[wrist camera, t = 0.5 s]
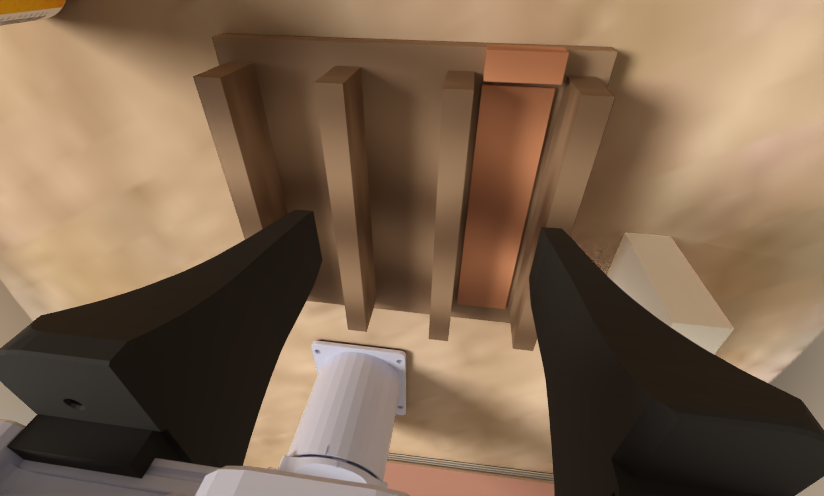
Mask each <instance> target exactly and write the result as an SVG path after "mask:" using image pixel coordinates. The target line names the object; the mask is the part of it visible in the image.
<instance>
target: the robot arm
mask: <svg viewBox="0 0 824 496" xmlns="http://www.w3.org/2000/svg"><path fill="white" fill-rule="evenodd" d="M321 263H322V254H321V249H320V244H319V238H318V233H317V228H316V222H315V217H314V212H313V211H309V210H294V211H292V212H290V213H288V214H286V215H285V216H283V217H281V218H280V219H278V220H276V221H275V222H273V223H271V224H270V225H268V226H267V227H265V228H263V229H262V230H260V231H259V232H257V233H255V234H254V235H252V236H251V237H249V238H247V239H246V240H244V241H242V242H240V243H239V244H237V245H235V246H233V247H231V248H230V249H228V250H226V251H224V252H223V253H221V254H219V255H217V256H215V257H213V258H211V259H209V260H207V261H205V262H203V263H201V264H199V265H197V266H195V267H192V268H190V269H188V270H186V271H184V272H181V273H179V274H176V275H174V276H171V277H169V278H166V279H164V280H161V281H158V282H156V283H153V284H151V285H148V286H145V287H142V288H140V289H136V290H133V291H130V292H127V293H124V294H121V295H118V296H115V297H111V298H108V299H105V300H101V301H98V302H94V303H90V304H86V305H82V306H78V307H74V308H70V309H66V310H62V311H58V312H54V313H50V314H45V315H41V316H40V317H38V318H37V319H36V320H34V321H33V322H32V323H31V324H30V325H29V326H27V327H26V328H25V329H24V330H22V331H21V332H20V333H19V334H18V335H16V336H15V337H14V338H13V339H12V340H10V341H9V342H8V343H7V344H5V345H4V346H3V347H2V348H0V381H1V382H2V383H3V384H4V385H5V386H6V387H7V388H8V389H10V390H11V391H12V392H13V393H14V394H15V395H16V396H17V397H18V398H19V399H21V400H22V401H23V402H24V403H25V404H26V405H27V406H28V407H30V408H31V409H32V410H33V411H34V412H35V413H36V414H38V415H37V416H36V417H35V418H34V419H33V420H32V421H31V422H30V423H29V424H28V425H27V426H24V425H22V424H19V423H17V422H14V421H10V420H4V419H0V496H411V495H409V494H407V493H405V492H401V491H397V490H393V489H390V488H388V483H387V482H384V475H385V470H386V464H387V459H388V453H389V448H390V442H391V437H392V431H393V426H394V420H395V415H405V414H406V353H405V352H403V351H400V350H392V349H384V348H375V347H367V346H358V345H350V344H342V343H333V342H325V341H313V343H312V345H311V348H312V352H313V356H314V360H315V364H316V369H317V373H318V376H317V379H316V381H315V384H314V387H313V389H312V392H311V394H310V397H309V400H308V402H307V405H306V407H305V410H304V413H303V415H302V418H301V421H300V423H299V426H298V428H297V431H296V434H295V436H294V439H293V441H292V444H291V447H290V449H289V452H288V454H287V455H284V456H283V457H282V460H281V462H280V465H279V467H278V470H277V469H275V468H271V467H269V468H267V469H265V468H259V467H252V466H243V463H244V459H245V456H246V452H247V449H248V445H249V442H250V438H251V435H252V432H253V429H254V426H255V423H256V419H257V416H258V413H259V410H260V407H261V404H262V401H263V398H264V396H265V393H266V390H267V387H268V384H269V381H270V378H271V376H272V373H273V371H274V368H275V365H276V363H277V360H278V358H279V355H280V352H281V350H282V348H283V346H284V344H285V341H286V339H287V337H288V335H289V333H290V331H291V330H292V328H293V326H294V324H295V322H296V320H297V318H298V316H299V314H300V312H301V310H302V308H303V306H304V304H305V302H306V300H307V299H308V297H309V295H310V293H311V291H312V289H313V286H314V284H315V281H316V279H317V276H318V273H319V270H320V267H321ZM529 288H530V302H531V309H532V314H533V319H534V324H535V329H536V334H537V338H538V343H539V348H540V353H541V357H542V362H543V367H544V373H545V379H546V387H547V397H548V407H549V418H550V431H551V443H552V459H553V475H554V494H555V496H795V495H797V494H798V493H799V492H801V491H803V490H804V489H805V488H807V487H808V486H810V485H811V484H813V483H815V482H816V481H817V480H819V479H820V478H822V477H823V476H824V430H823V428H822V427H821V426H820V424H819V423H818V422H817V420H816V419H815V418H814V416H813V415H812V414H811V412H810V411H809V410H808V408H807V407H806V405H805V404H804V403H803V402H802V400H800V399H798V398H796V397H794V396H792V395H790V394H788V393H786V392H784V391H782V390H780V389H778V388H776V387H774V386H772V385H770V384H768V383H766V382H764V381H762V380H760V379H758V378H756V377H754V376H752V375H750V374H748V373H746V372H744V371H742V370H741V369H739V368H737V367H735V366H733V365H732V364H730V363H728V362H726V361H725V360H723V359H721V358H719V357H717V356H716V355H714V354H712V353H710V352H709V351H707V350H705V349H704V348H702V347H701V346H699V345H697V344H696V343H694V342H692V341H691V340H689V339H688V338H686V337H685V336H683V335H682V334H680V333H679V332H677V331H676V330H674V329H673V328H671V327H670V326H668V325H667V324H665V323H664V322H662V321H661V320H660V319H658V318H657V317H655V316H654V315H653V314H652V313H650V312H649V311H648V310H646V309H645V308H644V307H642V306H641V305H640V304H639V303H637V302H636V301H635V300H634V299H632V298H631V297H630V296H629V295H628V294H626V293H625V292H624V291H623V290H622V289H621V288H620V287H619V286H618V285H616V284H615V283H614V282H613V281H612V280H611V279H610V278H609V277H608V276H607V275H606V274H605V273H604V272H603V271H602V270H601V269H600V268H599V267H598V266H597V265H596V264H595V263H594V262H593V261H592V260H591V259H590V258H589V257H588V256H587V255H586V254H585V253H584V252H583V251H582V250H581V248H580V247H579V246H578V245H577V244H576V243H575V242H574V241H573V240H572V239H571V237H570V236H569V235H568V234H567V233H566V232H565V231H564V230H563V229H562V228H548V227H541V230H540V234H539V238H538V243H537V247H536V251H535V255H534V259H533V263H532V267H531V271H530V275H529Z"/></svg>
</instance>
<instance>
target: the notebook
mask: <svg viewBox="0 0 824 496" xmlns="http://www.w3.org/2000/svg"><path fill="white" fill-rule="evenodd" d="M384 482H387V483H388V488H390V489H393V490H397V491H401V492H405V493H407V494H409V495H411V496H555V494H554V475H553V474H547V473H539V472H531V471H523V470H516V469H508V468H500V467H492V466H484V465H476V464H468V463H461V462H453V461H445V460H437V459H429V458H421V457H414V456H406V455H398V454H390V453H388V459H387V464H386V470H385V475H384Z"/></svg>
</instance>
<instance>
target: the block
mask: <svg viewBox="0 0 824 496" xmlns="http://www.w3.org/2000/svg"><path fill="white" fill-rule="evenodd" d="M607 276H608V277H609V278H610V279H611V280H612V281H613V282H614V283H615V284H616V285H618V286H619V287H620V288H621V289H622V290H623V291H624V292H625V293H626V294H628V295H629V296H630V297H631V298H632V299H634V300H635V301H636V302H637V303H639V304H640V305H641V306H642V307H644V308H645V309H646V310H648V311H649V312H650V313H652V314H653V315H654V316H655V317H657V318H658V319H660V320H661V321H662V322H664V323H665V324H667V325H668V326H670V327H671V328H673V329H674V330H676V331H677V332H679V333H680V334H682V335H683V336H685V337H686V338H688V339H689V340H691V341H692V342H694V343H696V344H697V345H699V346H701V347H702V348H704V349H705V350H707V351H709V352H710V353H712V354H715V353H716V352H717V350H718V349H719V348H720V347H721V345H722V344H723V343H724V342H725V340H726V339H727V338H728V337H729V335H730V334H731V333H732V331H733V330H734V328H733V326H732V325H731V323H730V322H729V320H728V319H727V317H726V316H725V314H724V313H723V312H722V310H721V309H720V307H719V306H718V304H717V303H716V301H715V300H714V299H713V297H712V296H711V294H710V293H709V291H708V290H707V288H706V287H705V285H704V284H703V283H702V281H701V280H700V278H699V277H698V275H697V274H696V272H695V271H694V269H693V268H692V267H691V265H690V264H689V262H688V261H687V259H686V258H685V256H684V255H683V253H682V252H681V251H680V249H679V248H678V246H677V245H676V243H675V242H674V240H673V239H672V237H671V236H664V235H652V234H640V233H628V232H625V233H624V235H623V237H622V240H621V242H620V244H619V247H618V249H617V251H616V254H615V256H614V259H613V261H612V263H611V266H610V268H609V270H608V273H607Z"/></svg>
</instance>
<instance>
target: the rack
mask: <svg viewBox="0 0 824 496" xmlns="http://www.w3.org/2000/svg"><path fill="white" fill-rule="evenodd" d="M212 39H213V43H214V47H215V50H216V54H217V58H218V61H219V65H220V66H217V67H215V68H213V69H210V70H208V71H206V72H203V73H201V74H198V75H196V76H194V77H193V78H194V81H195V84H196V87H197V90H198V93H199V97H200V100H201V103H202V106H203V109H204V112H205V115H206V119H207V122H208V125H209V128H210V131H211V134H212V137H213V140H214V144H215V147H216V150H217V153H218V156H219V159H220V162H221V165H222V169H223V172H224V175H225V178H226V181H227V184H228V187H229V191H230V194H231V197H232V200H233V203H234V206H235V209H236V212H237V216H238V219H239V222H240V225H241V228H242V231H243V234H244V237H245V240H246V239H247V238H249V237H251V236H252V235H254V234H255V233H257V232H259V231H260V230H262V229H263V228H265V227H267V226H268V225H270V224H271V223H273V222H275V221H276V220H278V219H280V218H281V217H283V216H285V215H286V214H288V213H290V212H292V211H294V210H309V211H313V212H314V217H315V222H316V228H317V233H318V238H319V244H320V249H321V254H322V263H321V267H320V270H319V273H318V276H317V279H316V281H315V284H314V286H313V289H312V291H311V293H310V295H309V297H308V299H307V300H306V301H313V302H323V303H332V304H341V305H345V310H346V317H347V325H348V330H356V331H365V332H367V328H368V325H369V322H370V318H371V315H372V311H373V308H378V309H387V310H396V311H405V312H414V313H424V314H430V326H429V339H434V340H443V341H448V335H449V325H450V316H451V317H460V318H469V319H479V320H488V321H497V322H506V323H511V332H512V343H513V349H521V350H529V351H533V349H534V346H535V343H536V340H537V334H536V329H535V324H534V319H533V314H532V309H531V302H530V288H529V275H530V271H531V267H532V263H533V259H534V255H535V251H536V247H537V243H538V238H539V234H540V230H541V227H548V228H562V229H563V230H564V231H565V232H566V233H567V234H568V235H569V236H570V235H571V232H572V229H573V226H574V223H575V219H576V216H577V213H578V210H579V207H580V204H581V201H582V198H583V195H584V192H585V189H586V185H587V182H588V179H589V176H590V173H591V170H592V167H593V164H594V161H595V158H596V154H597V151H598V148H599V145H600V142H601V139H602V136H603V133H604V130H605V127H606V124H607V120H608V117H609V114H610V111H611V108H612V105H613V102H614V99H615V96H614V95H613V94H612V93H611V92H610V91H609V90H608V89H607V85H608V82H609V79H610V76H611V72H612V69H613V66H614V63H615V59H616V56H617V53H618V51H616V50H615V49H613V48H612V47H592V46H563V45H534V44H506V43H477V42H448V41H420V40H391V39H362V38H333V37H305V36H276V35H247V34H220V35H217V36H214V37H212Z"/></svg>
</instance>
